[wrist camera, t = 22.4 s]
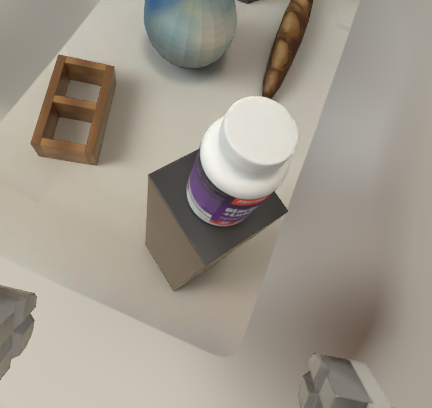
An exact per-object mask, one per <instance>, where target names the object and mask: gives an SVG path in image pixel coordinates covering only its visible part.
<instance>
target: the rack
mask: <svg viewBox="0 0 432 408" xmlns="http://www.w3.org/2000/svg"><path fill="white" fill-rule="evenodd" d="M70 79H72V80H77V81H81V82H86V83H91V84H96V85H101V89H100V93H99V97H98V101H97V103H94V102H89V101H84V100H79V99H74V98H68V97H65V94H66V90H67V87H68V83H69V80H70ZM115 85H116V78H115V69H114V66H110V65H106V64H101V63H96V62H92V61H87V60H82V59H78V58H73V57H68V56H63V55H58V57H57V61H56V64H55V67H54V70H53V73H52V77H51V80H50V83H49V86H48V89H47V93H46V96H45V99H44V102H43V105H42V109H41V112H40V115H39V118H38V121H37V125H36V128H35V131H34V134H33V137H32V140H31V145H32V146H33V148H34V149H35V151H36V152H37V154H38V156H42V157H48V158H54V159H60V160H66V161H72V162H78V163H85V164H91V165H97V162H98V158H99V153H100V149H101V145H102V141H103V136H104V132H105V128H106V123H107V119H108V115H109V110H110V106H111V102H112V98H113V93H114V89H115ZM59 117H65V118H70V119H76V120H81V121H86V122H92V125H91V129H90V133H89V137H88V141H87V145H82V144H76V143H71V142H65V141H59V140H53V139H52V138H53V135H54V132H55V128H56V125H57V121H58V118H59Z"/></svg>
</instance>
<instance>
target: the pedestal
mask: <svg viewBox="0 0 432 408" xmlns="http://www.w3.org/2000/svg"><path fill="white" fill-rule="evenodd" d="M198 151H199V149H198V150H196V151H194V152H192V153H190V154H188V155H186V156H184V157H182V158H180V159H178V160H176V161H174V162H172V163H170V164H168V165H166V166H164V167H162V168H160V169H159V170H157V171H155V172H153V173H151V174H149V175H148V197H147V219H146V241H145V245H146V246H147V248H148V250H149V251H150V253H151V254H152V256H153V258H154V259H155V261H156V263H157V264H158V266H159V268H160V269H161V271H162V273H163V274H164V276H165V277H166V279H167V281H168V282H169V284H170V286H171V287H172V289H173V291H175V290H177V289H178V288H180V287H181V286H183V285H184V284H186V283H187V282H189V281H190V280H192V279H193V278H195V277H196V276H198V275H199V274H201V273H202V272H204V271H205V270H207V269H208V268H210V267H212V266H213V265H215V264H216V263H218V262H219V261H220V260H222V259H223V258H225V257H226V256H227V255H229V254H230V253H232V252H233V251H234V250H236V249H237V248H238V247H240V246H241V245H243V244H244V243H245V242H247V241H248V240H249V239H251V238H252V237H254V236H255V235H256V234H258V233H259V232H261V231H262V230H263V229H265V228H266V227H267V226H269V225H270V224H272V223H273V222H274V221H276V220H277V219H279V218H280V217H281V216H283V215H284V214H285V213H287V212H288V210H287V209H286V207H285V206H284V204H283V203H282V201H281V200H280V199H279V197H278V196H277V194H276V193H275V191H274V192H273V193H272V194H271V195H270V196H269V197H268V198H267V199H266V200H264V201H263V202H262V203H261V204H260V205H259V206H258V207H257V208H256V209H255V210H254V211H253V212H252V213H251V214H250V215H249V216H247V217H246V218H245V219H244V220H242V221H241V222H239V223H237V224H234V225H231V226H216V225H212V224H209V223H207V222H205V221H204V220H202V219H201V218H199V217H198V216H197V215H196V214H195V212H194V211H193V210H192V208H191V206H190V204H189V202H188V198H187V184H188V179H189V176H190V174H191V171H192V168H193V165H194V162H195V159H196V156H197V153H198Z"/></svg>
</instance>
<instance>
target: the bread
mask: <svg viewBox="0 0 432 408" xmlns="http://www.w3.org/2000/svg"><path fill="white" fill-rule="evenodd" d="M312 4H313V0H291V1H290V3H289V5H288V7H287V9H286V11H285V14H284V16H283V19H282V22H281V25H280V28H279V31H278V32H277V35H276V38H275V42H274V45H273V48H272V52H271V55H270V59H269V62H268V66H267V70H266V74H265V78H264V83H263V95H262V97H266V98H269V99H271V98H272V97H273V95H274V94H275V93H276V91H277V90H278V89H279V88H280V86H281V84H282V82H283V80H284V78H285V76H286V74H287V72H288V70H289V68H290V66H291V64H292V62H293V60H294V57H295V55H296V53H297V51H298V48H299V46H300V44H301V42H302V39H303V36H304V33H305V30H306V27H307V24H308V22H309V17H310V13H311V8H312Z"/></svg>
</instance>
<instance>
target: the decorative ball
mask: <svg viewBox="0 0 432 408" xmlns="http://www.w3.org/2000/svg"><path fill="white" fill-rule="evenodd" d="M144 24H145V28H146V31H147V34H148V36H149V39H150V41H151V43H152V45H153V46H154V48H155V49H156V50H157V51H158V53H159V54H160V55H161V56H162V57H163V58H165V59H166V60H167V61H169V62H170V63H172V64H174V65H177V66H180V67H182V68H191V69H195V68H201V67H205V66H207V65H209V64H211V63H213V62H215V61H217V60H218V59H219V58H220V57H221V56H222V55H223V54H224V52H225V51H226V50H227V49H228V47H229V46H230V44H231V41H232V39H233V36H234V33H235V29H236V25H237V16H236V5H235V1H234V0H145V6H144Z"/></svg>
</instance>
